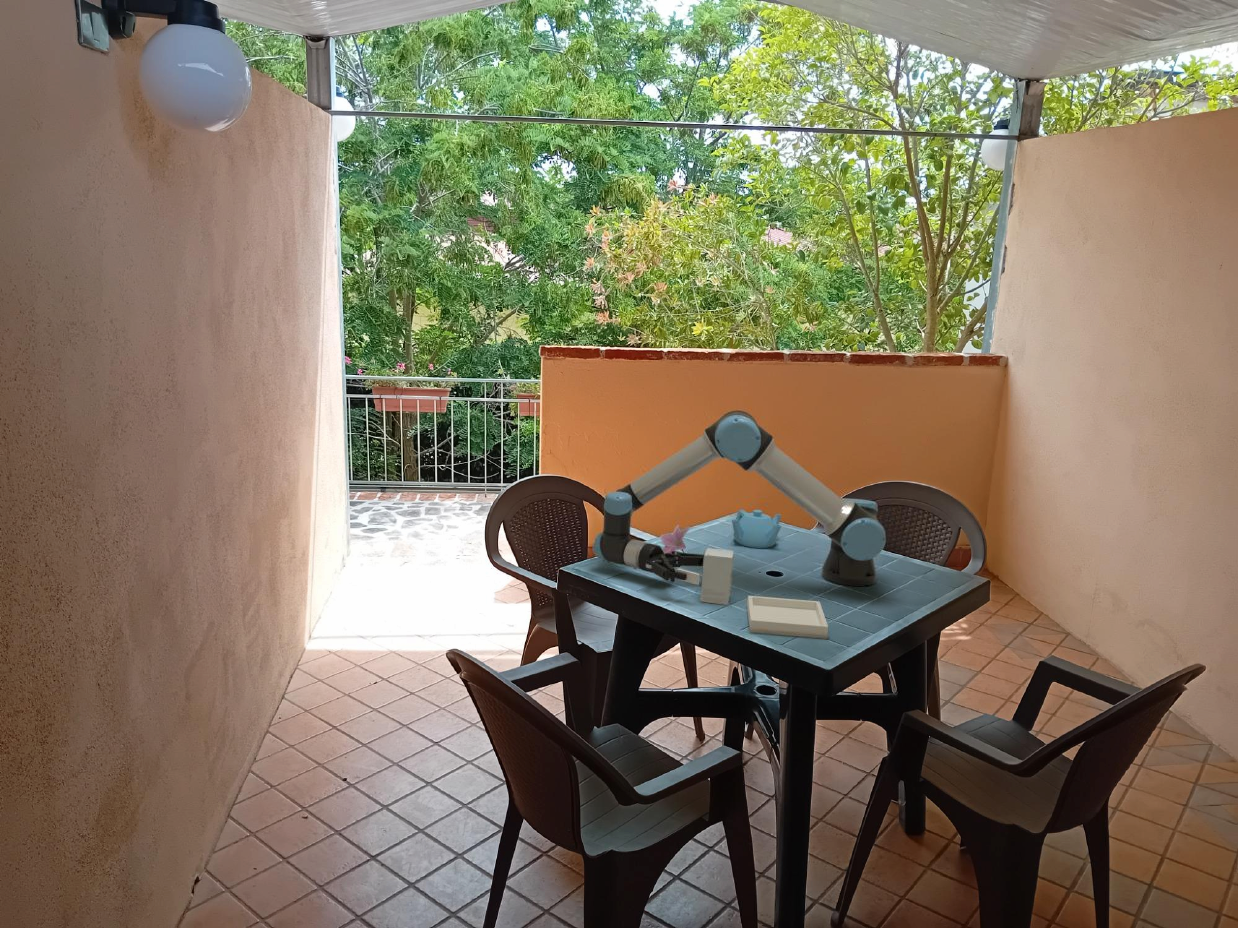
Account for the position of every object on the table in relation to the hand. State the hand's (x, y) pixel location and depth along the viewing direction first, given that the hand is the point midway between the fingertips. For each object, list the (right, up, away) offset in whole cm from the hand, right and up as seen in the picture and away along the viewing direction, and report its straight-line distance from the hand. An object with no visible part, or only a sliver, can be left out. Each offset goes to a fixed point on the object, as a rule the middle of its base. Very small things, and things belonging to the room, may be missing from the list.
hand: (712, 573), depth 243 cm
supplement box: (+1, -7, +1) cm, 7 cm away
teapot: (+19, +3, +57) cm, 60 cm away
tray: (+17, -10, -13) cm, 24 cm away
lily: (-8, 0, +36) cm, 37 cm away
